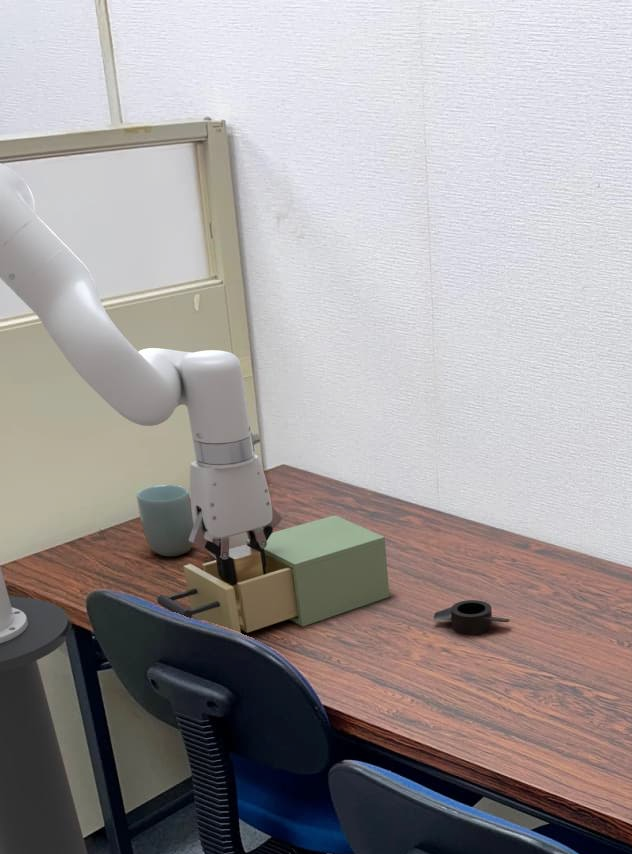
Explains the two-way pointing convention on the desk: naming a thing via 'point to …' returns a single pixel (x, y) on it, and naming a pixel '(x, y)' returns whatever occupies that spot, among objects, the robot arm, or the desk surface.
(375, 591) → the box
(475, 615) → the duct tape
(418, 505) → the desk surface
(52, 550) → the desk surface
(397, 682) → the desk surface
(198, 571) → the drawer
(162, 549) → the cup
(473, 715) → the desk surface
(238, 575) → the block
